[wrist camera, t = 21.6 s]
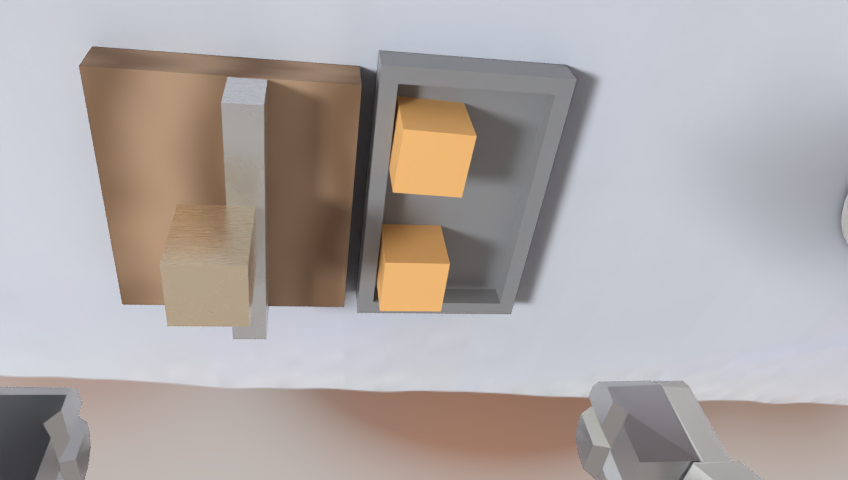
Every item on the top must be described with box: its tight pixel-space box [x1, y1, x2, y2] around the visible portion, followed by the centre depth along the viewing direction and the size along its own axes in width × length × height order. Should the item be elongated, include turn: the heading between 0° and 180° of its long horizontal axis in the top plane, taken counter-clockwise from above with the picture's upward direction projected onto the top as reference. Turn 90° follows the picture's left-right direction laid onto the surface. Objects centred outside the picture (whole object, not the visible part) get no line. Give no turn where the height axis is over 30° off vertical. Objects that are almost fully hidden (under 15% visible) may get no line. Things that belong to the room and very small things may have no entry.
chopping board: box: [79, 47, 362, 307], centre depth 41 cm, size 14×16×2 cm
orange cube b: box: [376, 224, 450, 311], centre depth 44 cm, size 4×4×4 cm
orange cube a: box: [389, 96, 477, 198], centre depth 39 cm, size 4×4×4 cm
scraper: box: [160, 77, 269, 339], centre depth 36 cm, size 4×16×8 cm, turn 172°
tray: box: [356, 51, 577, 314], centre depth 43 cm, size 11×18×2 cm, turn 173°
